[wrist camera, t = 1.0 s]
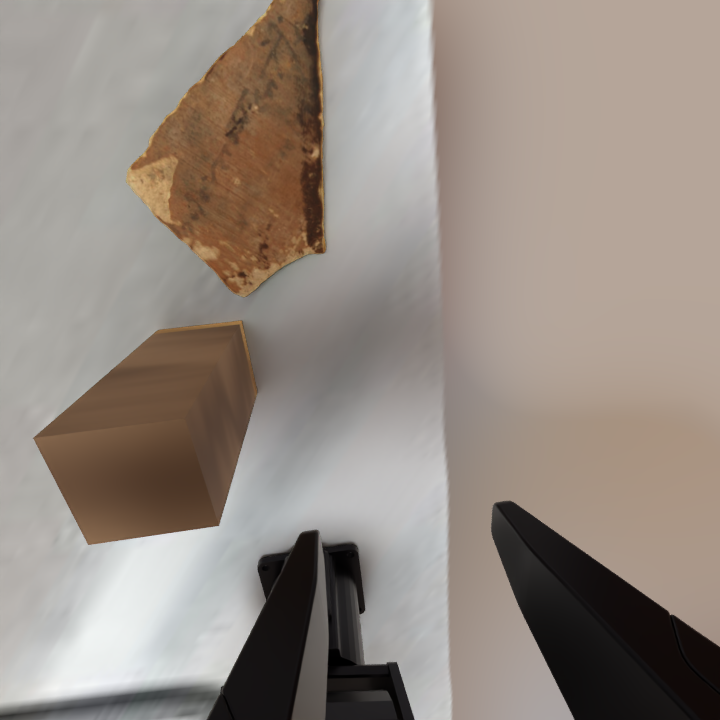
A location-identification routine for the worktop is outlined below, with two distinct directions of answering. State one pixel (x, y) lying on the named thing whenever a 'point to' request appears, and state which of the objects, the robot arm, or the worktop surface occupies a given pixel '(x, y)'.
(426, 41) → the worktop surface
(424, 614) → the worktop surface
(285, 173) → the shard
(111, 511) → the walnut block
